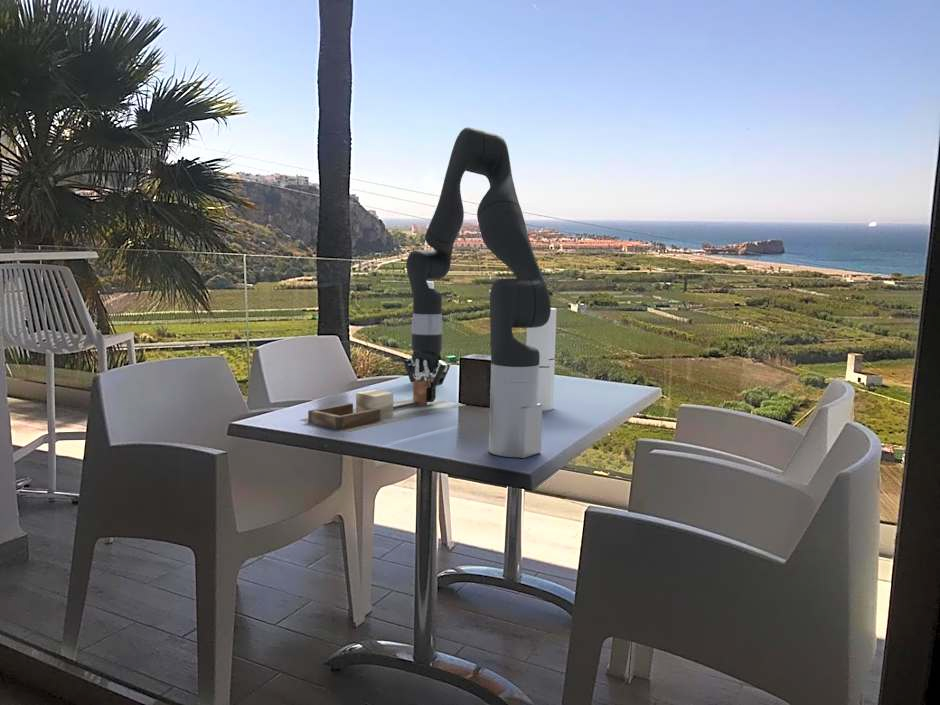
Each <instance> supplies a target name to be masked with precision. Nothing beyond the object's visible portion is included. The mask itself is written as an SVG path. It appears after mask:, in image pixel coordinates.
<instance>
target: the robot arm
mask: <svg viewBox="0 0 940 705" xmlns="http://www.w3.org/2000/svg"><path fill="white" fill-rule="evenodd" d="M508 148H509V147H508V145H507V143H506V140H505V139H504V137H502V136H501V135H499V134H497V133H494V132H490V131H486V130H484V129H479V128H476V127H471V126H467V127H465V128H462V130H461V131H460V132H459V133H458V135H457V137H456V139H455V141H454V144H453V148H452V150H451V154H450V158H449V161H448V164H447V168H446V172H445V176H444V179H443V184H442V188H441V192H440V196H439V199H438V202H437V205H436V207H435V208H436V209H435V210H434V212H433V215H432V217H431V220H430V223H429V225H428V228H427V229H426V233H425V237H424V239H425V242H426V244H427V245H428V246H429V247H430V248H433V249H434V250H432V249H431V250H430V249H429V250H428V249H415V250H413V251H411V252H410V253H409V254H408V256H407V258H406V259H407V260H406V263H405V265H406V272H407V273H406V274H407V277H408V281H409V284H410V289H411V292H412V293H411V294H412V321H411V344H410V346H411V348H410V349H411V350H412V351H413V352H412V355H411V357H410V358H409V359H404V361H403V364H404V367H405V370H406V372H407V375H408V378H409V381H410V383H413V381H415V380H426V379H427V402H434V400H435V399H436V397H437V396H436V392H437V391H436V390H437V389H436V388H437V386H442V385H443V383H444V381H445V378H446V376H447V374H448V371H449V369H450V367H451V366H450V364H449V363H445V362H444V361H442V356H441V352H442V350H443V318H442V317H443V316H442V313H443V312H442V311H443V310H442V303H443V302H442V301H443V299H442V298H443V297H442V293H441V291H440V290H437V289H434V288H433V289H431V288H429V286H428V284H427V281H428V280H440V279H442V278H444V277H445V276H446V275H447V274H448V273H449V272H450V268H451V263H452V256H453V248H454V244H455V241H456V239H457V238H458V235H459V233H460V231H461V229H462V226H463V223H464V218H465V211H464V205H463V199H462V194H461V182H462V179H463V176H464V174H465V172H469V173H473V174H477V175H480V176H485V177H486V179H487V180H488V183H489V189H488V190H487V192H486V193H485V194H484V195H483V197H482V199H481V200H480V202H479V203H478V206H477V210H476V216H477V217H476V218H477V222H478V227H479V231H480V234H481V235H480V236H481V239H482V241H483V243H484V245H485V246H486V247H487V249H488V250H489V251H490V252H491V253H492V254H493V255H494V256H496V258H497V259H499V260H500V261H501V262H502V263H503V265H505V266H506V267H507V268H508V269H509V270H510V271H511V272H512V273H513V274H514V276H515V278H500V279H497V280H495V281H494V282H493V283H492V286H491V289H490V293H489V325H490V326H489V328H490V336H489V337H490V339H489V340H490V343H489V344H490V383H489V385H490V387H489V388H490V390H489V393H490V394H489V426H488V427H489V428H488V434H489V435H488V451H489V453H491V454H493V455H496V456H499V457H505V458H520V459H525V458H528V457H531V456H534V455H537V454H539V453H541V452H542V436H543V435H542V431H543V430H542V428H543V427H542V426H543V411H542V404H540V403H538V389H539V360H540V354H539V351H538V349H536V348H534V347H531V346H528V345H526V344H525V343H522V342H521V341H519V340H518V339H516V338H515V337H514V335H513V329H518V328H519V329H521V328H522V329H527V328H535V327H541V326H543V325H545V324H546V323H547V322H548V320H549V317H550V312H551V308H552V305H551V297H550V292H549V289H548V287H547V284H546V281H545V278H544V276H543V274H542V270H541V268H540V266H539V263H538V261H537V259H536V257H535V254H534V251H533V248H532V244H531V241H530V238H529V235H528V234H529V233H528V230H527V224H526V222H525V217H524V214H523V211H522V208H521V204H520V202H519V199H518V195H517V191H516V187H515V183H514V180H513V178H514V177H513V174H512V172H513V171H512V168H511V167H512V166H511V159H510V154H509V149H508ZM437 370H438V371H437ZM430 373H432V374H430ZM413 374H414V376H413Z"/></svg>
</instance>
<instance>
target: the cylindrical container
mask: <svg viewBox="0 0 940 705" xmlns="http://www.w3.org/2000/svg"><path fill="white" fill-rule="evenodd" d="M556 331H557V308H555V307H551V312H550V317H549V320H548V322H547V323H546V324H545V325H543V326H541V327H535V328H526V344H525V345H528V346H531V347H534V348H536V349H538V351H539V354H540V360H539V389H538V403H540V404H542V412H543V411H550V410H553V409H554V397H555V396H554V391H555V388H554V387H555V367H556V366H555V363H556V362H555V361H556V360H555V359H556V358H555V356H556V334H557V333H556Z"/></svg>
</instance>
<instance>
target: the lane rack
mask: <svg viewBox="0 0 940 705" xmlns="http://www.w3.org/2000/svg"><path fill="white" fill-rule="evenodd" d="M412 402H413V397H409V398H404V399H399V400H393V406H397V405H402V404H407V403H412ZM460 407H467V404H464V403H459V402H451V401H446V400H442V399H436V398H435V400H434V402H427V405H424V406H417V405H413V406H408V407H403V408H398V409H394V410H393V414H392V415H388V416H383V417H380V409H377V408H376V409H371V410H366V411H361V412H356V408H354V403H350V402H348V403H342V404H337V405H331V406H328V407H327V406H326V407H322V408H321V407H320V408H316V409H315V408H314V409H311V410H308V414H307V418H303V419H300V421H301V422H306V423H311V424H315V425H319V426H324V427H327V428H333V429H336V430H340V431H345V432H353V431H358V430H362V429H366V428H371V427H375V426H380V425H384V424H388V423H393V422H397V421H401V420H407V419H411V418H415V417H420V416H425V415H429V414H433V413H437V412H442V411H445V410H450V409H455V408H460Z"/></svg>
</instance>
